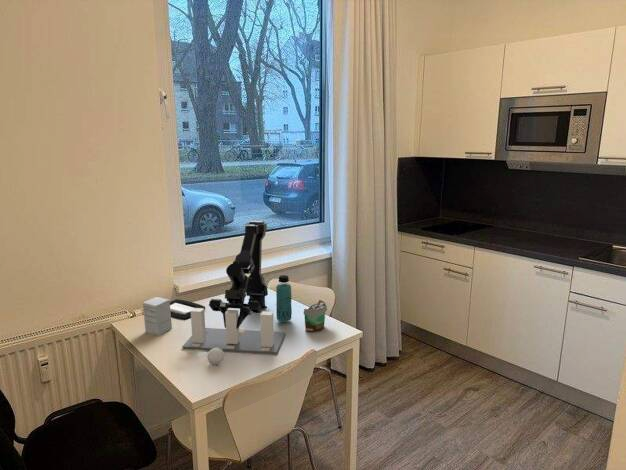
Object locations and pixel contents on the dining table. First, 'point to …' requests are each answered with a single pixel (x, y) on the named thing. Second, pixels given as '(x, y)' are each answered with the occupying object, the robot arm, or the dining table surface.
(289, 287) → the beverage bottle
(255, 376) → the dining table surface
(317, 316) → the food container
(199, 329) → the three pillar stand
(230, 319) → the block
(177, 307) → the light switch
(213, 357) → the white sphere
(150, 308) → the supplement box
